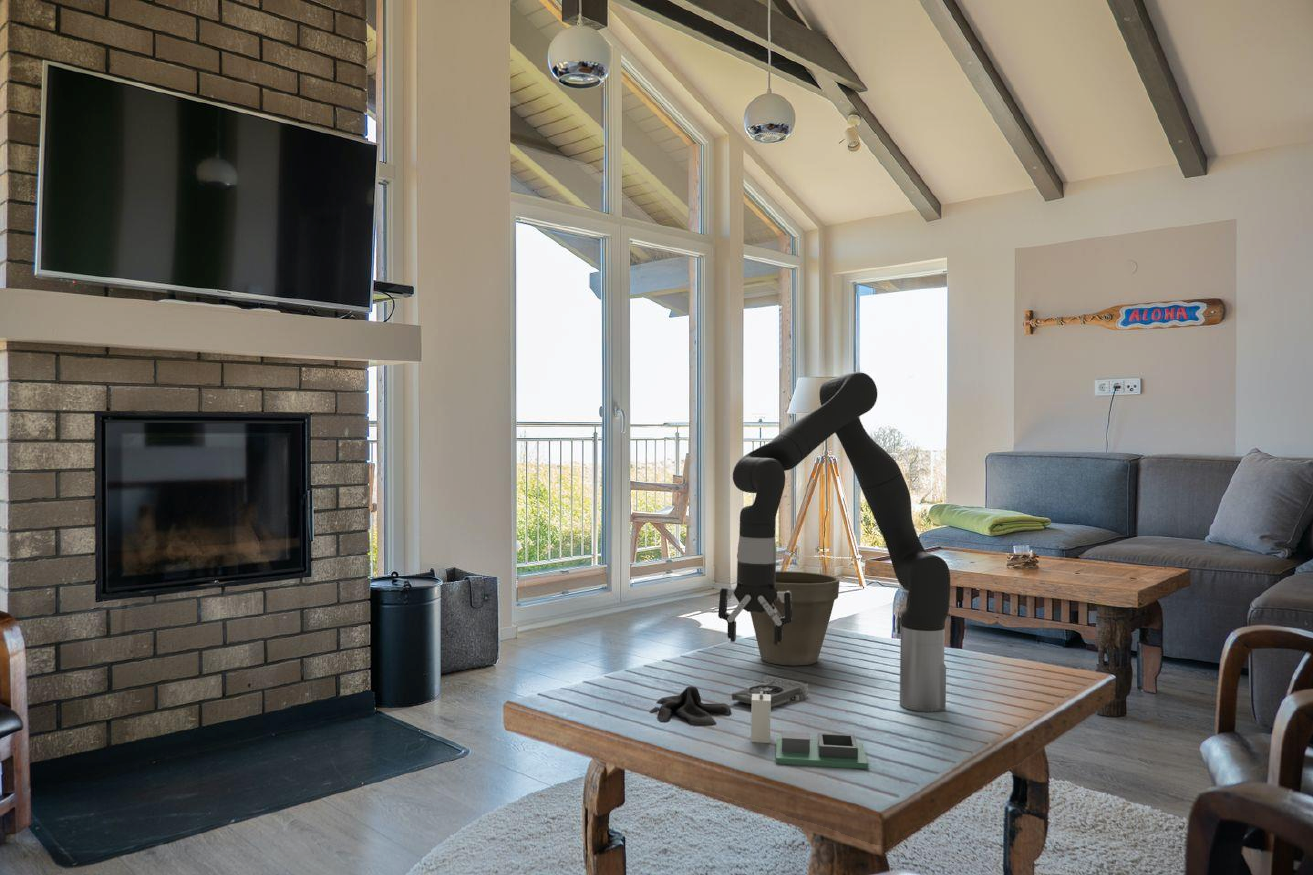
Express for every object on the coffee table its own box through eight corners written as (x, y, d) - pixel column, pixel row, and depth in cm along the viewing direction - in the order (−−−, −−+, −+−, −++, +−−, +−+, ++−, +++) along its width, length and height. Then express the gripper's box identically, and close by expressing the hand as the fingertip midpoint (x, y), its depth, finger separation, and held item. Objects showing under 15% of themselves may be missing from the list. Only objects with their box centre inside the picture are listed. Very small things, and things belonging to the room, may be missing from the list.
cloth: (669, 697, 213) (669, 669, 213) (746, 709, 204) (747, 680, 204) (619, 723, 193) (620, 693, 193) (702, 738, 185) (703, 706, 185)
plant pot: (784, 644, 265) (785, 566, 265) (857, 660, 247) (858, 577, 247) (722, 657, 248) (723, 574, 248) (796, 676, 230) (797, 587, 230)
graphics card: (766, 673, 220) (809, 682, 212) (766, 690, 220) (809, 699, 212) (719, 688, 208) (763, 697, 200) (719, 705, 208) (763, 715, 200)
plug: (770, 735, 185) (770, 690, 185) (770, 742, 180) (770, 696, 180) (751, 734, 185) (752, 689, 185) (750, 741, 181) (751, 695, 181)
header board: (862, 748, 178) (862, 729, 178) (867, 768, 167) (868, 748, 167) (776, 743, 180) (776, 725, 180) (775, 763, 169) (776, 743, 169)
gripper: (795, 559, 188) (793, 641, 188) (723, 555, 191) (721, 636, 191) (791, 564, 181) (789, 649, 181) (717, 559, 184) (715, 643, 184)
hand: (754, 642), depth 186 cm, fingers open, 8 cm apart
